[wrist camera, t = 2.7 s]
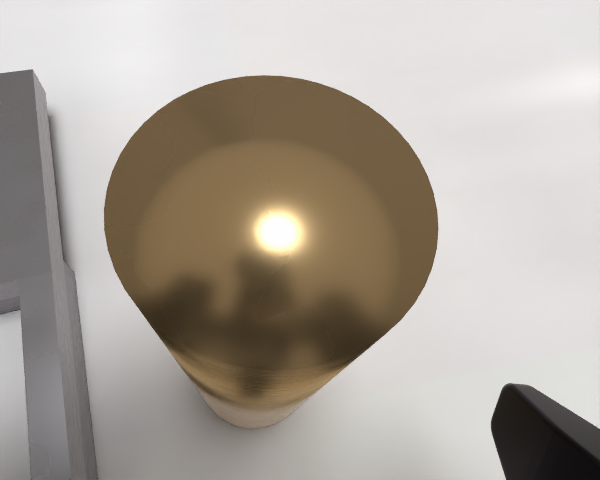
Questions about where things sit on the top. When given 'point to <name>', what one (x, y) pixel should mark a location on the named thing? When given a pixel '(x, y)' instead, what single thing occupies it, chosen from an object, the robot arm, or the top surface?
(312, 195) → the bronze cylinder
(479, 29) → the top surface
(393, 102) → the top surface
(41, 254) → the grey frame with knob
